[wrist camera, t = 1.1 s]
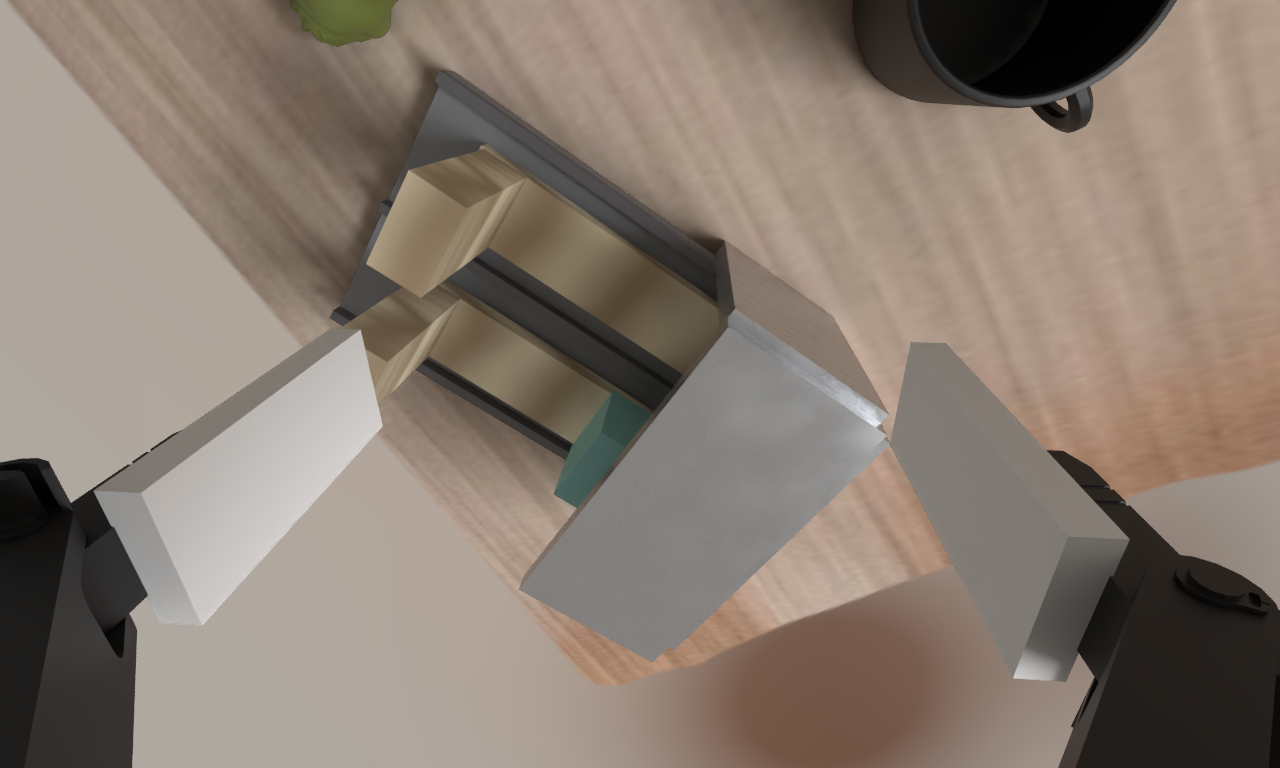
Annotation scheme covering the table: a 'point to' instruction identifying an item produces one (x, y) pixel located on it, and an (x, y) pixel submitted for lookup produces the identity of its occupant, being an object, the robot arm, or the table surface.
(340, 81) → the table surface
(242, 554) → the robot arm
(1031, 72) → the mug
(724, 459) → the grey open box shape
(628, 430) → the block
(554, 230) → the strip near
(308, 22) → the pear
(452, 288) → the wooden l-shaped bracket
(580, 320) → the lane board
